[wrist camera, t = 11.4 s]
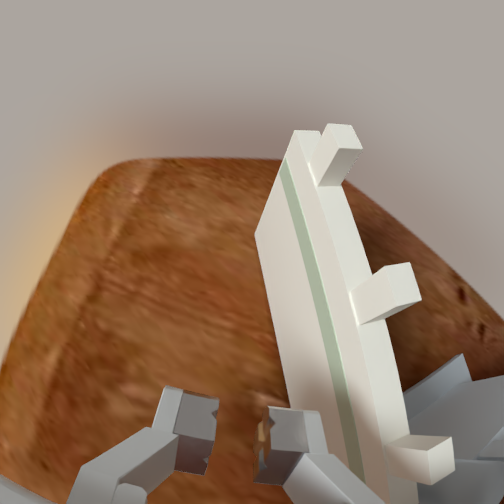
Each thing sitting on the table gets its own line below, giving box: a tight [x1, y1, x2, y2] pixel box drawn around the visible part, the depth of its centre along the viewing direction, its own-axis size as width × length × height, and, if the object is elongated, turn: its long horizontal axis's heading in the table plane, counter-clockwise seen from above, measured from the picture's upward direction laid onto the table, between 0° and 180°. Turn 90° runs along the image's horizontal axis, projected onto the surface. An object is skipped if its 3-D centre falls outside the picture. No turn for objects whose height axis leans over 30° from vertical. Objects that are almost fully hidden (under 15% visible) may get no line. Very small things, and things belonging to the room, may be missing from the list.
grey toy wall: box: [403, 353, 504, 504], centre depth 13 cm, size 13×5×12 cm, turn 110°
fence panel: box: [255, 124, 455, 504], centre depth 14 cm, size 18×2×12 cm, turn 11°
